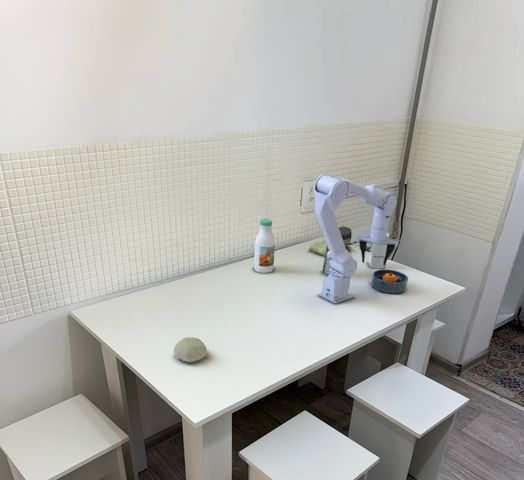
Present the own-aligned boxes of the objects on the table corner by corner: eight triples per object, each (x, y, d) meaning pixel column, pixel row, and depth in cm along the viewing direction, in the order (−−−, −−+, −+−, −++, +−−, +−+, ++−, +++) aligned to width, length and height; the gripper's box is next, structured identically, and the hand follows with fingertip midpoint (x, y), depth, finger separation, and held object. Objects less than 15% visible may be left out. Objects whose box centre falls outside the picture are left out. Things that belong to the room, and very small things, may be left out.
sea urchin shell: (207, 340, 143) (206, 333, 135) (206, 366, 141) (205, 360, 133) (176, 339, 142) (173, 332, 135) (174, 365, 141) (171, 360, 133)
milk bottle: (251, 271, 193) (253, 221, 183) (257, 264, 200) (259, 216, 189) (270, 274, 192) (273, 224, 181) (275, 267, 198) (278, 218, 188)
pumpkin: (389, 290, 184) (392, 277, 181) (377, 284, 187) (380, 271, 185) (398, 286, 187) (401, 273, 184) (387, 281, 191) (389, 268, 188)
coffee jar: (335, 267, 202) (341, 223, 192) (349, 274, 196) (356, 228, 187) (318, 272, 197) (323, 226, 187) (332, 278, 191) (338, 232, 182)
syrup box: (383, 268, 203) (390, 234, 196) (369, 267, 203) (375, 234, 196) (381, 263, 208) (387, 230, 200) (367, 262, 208) (373, 229, 200)
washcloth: (352, 250, 220) (354, 243, 219) (329, 259, 209) (330, 252, 207) (329, 242, 228) (330, 235, 226) (305, 251, 216) (306, 244, 214)
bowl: (391, 297, 180) (393, 286, 177) (363, 284, 188) (365, 273, 186) (412, 289, 187) (415, 278, 185) (385, 277, 195) (387, 266, 193)
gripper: (400, 225, 175) (393, 261, 182) (359, 221, 177) (354, 256, 184) (401, 231, 169) (393, 268, 176) (359, 227, 171) (353, 263, 178)
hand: (373, 263), depth 180 cm, fingers open, 7 cm apart
